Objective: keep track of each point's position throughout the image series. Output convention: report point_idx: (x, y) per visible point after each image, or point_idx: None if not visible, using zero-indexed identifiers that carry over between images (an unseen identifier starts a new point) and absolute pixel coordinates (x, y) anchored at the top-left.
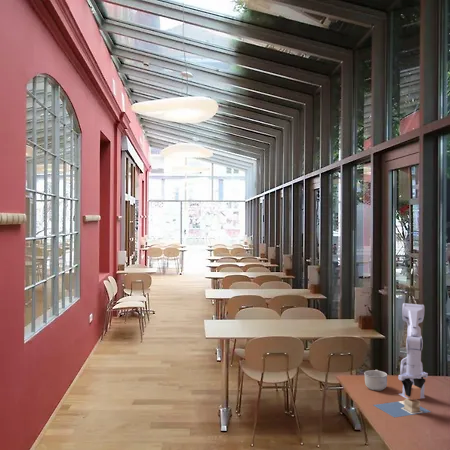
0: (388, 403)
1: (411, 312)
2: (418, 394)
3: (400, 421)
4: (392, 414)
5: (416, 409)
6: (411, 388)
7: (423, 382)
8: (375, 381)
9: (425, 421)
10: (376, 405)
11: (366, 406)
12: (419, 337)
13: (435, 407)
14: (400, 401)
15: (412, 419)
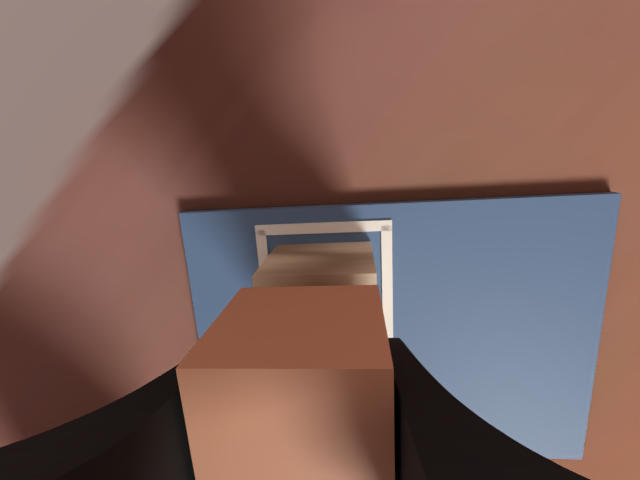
0: None
1: None
2: (259, 312)
3: (602, 126)
4: (581, 255)
5: (312, 250)
6: (377, 412)
7: (5, 462)
8: None
9: (360, 65)
10: (559, 444)
11: (628, 463)
12: None
13: (77, 297)
14: None
15: (448, 137)
